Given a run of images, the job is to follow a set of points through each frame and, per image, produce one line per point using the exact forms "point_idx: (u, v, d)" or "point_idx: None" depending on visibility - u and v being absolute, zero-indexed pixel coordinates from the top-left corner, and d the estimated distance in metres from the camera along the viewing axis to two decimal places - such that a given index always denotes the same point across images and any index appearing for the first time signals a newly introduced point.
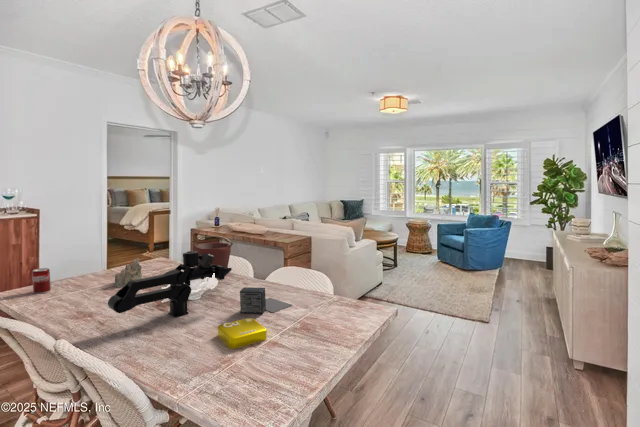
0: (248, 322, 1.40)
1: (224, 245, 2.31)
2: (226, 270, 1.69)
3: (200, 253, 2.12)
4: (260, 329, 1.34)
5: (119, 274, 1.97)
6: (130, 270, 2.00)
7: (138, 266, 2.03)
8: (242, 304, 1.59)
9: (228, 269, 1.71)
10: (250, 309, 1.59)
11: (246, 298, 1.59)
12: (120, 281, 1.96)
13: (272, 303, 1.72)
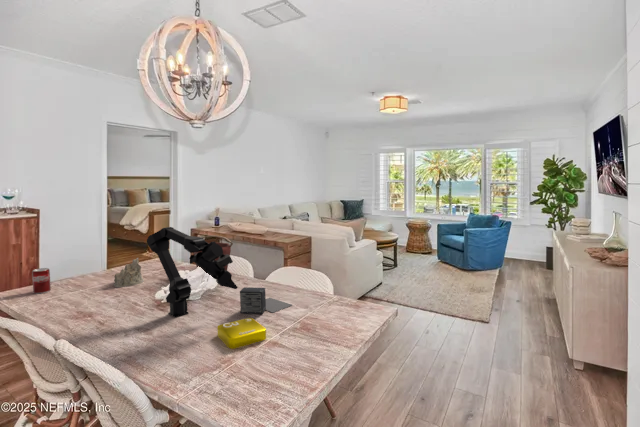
0: (248, 322, 1.40)
1: (224, 245, 2.31)
2: (231, 283, 1.49)
3: None
4: (260, 329, 1.34)
5: (119, 274, 1.97)
6: (130, 270, 2.00)
7: (138, 266, 2.03)
8: (242, 304, 1.59)
9: (233, 284, 1.49)
10: (250, 309, 1.59)
11: (246, 298, 1.59)
12: (120, 281, 1.96)
13: (272, 303, 1.72)
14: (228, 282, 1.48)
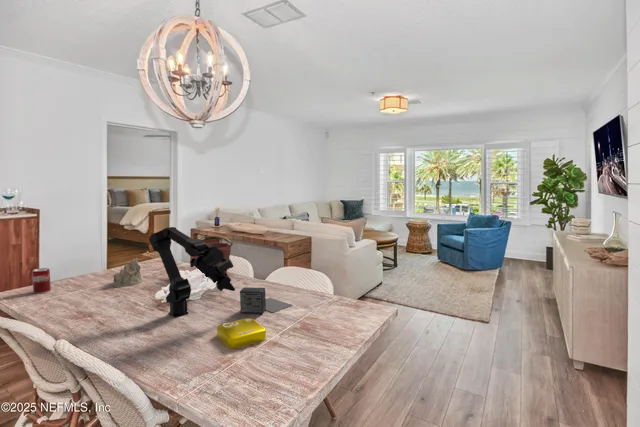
0: (247, 322, 1.40)
1: (224, 245, 2.31)
2: (229, 285, 1.52)
3: None
4: (259, 329, 1.34)
5: (118, 274, 1.97)
6: (129, 270, 2.00)
7: (137, 266, 2.03)
8: (242, 304, 1.59)
9: (231, 286, 1.52)
10: (250, 309, 1.59)
11: (246, 298, 1.59)
12: (119, 281, 1.96)
13: (272, 303, 1.72)
14: None
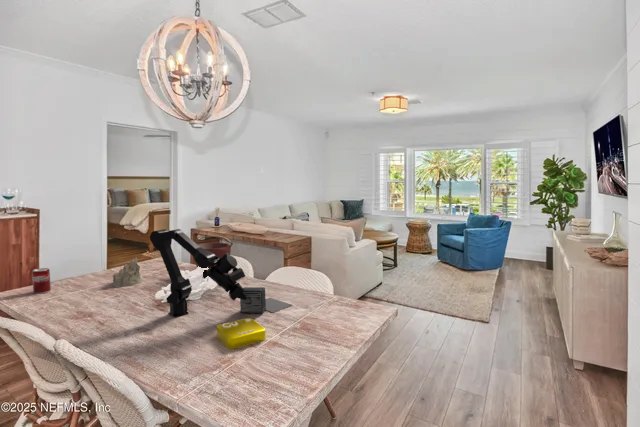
0: (247, 322, 1.40)
1: (224, 245, 2.31)
2: (240, 294, 1.56)
3: None
4: (259, 329, 1.34)
5: (117, 274, 1.97)
6: (128, 270, 2.00)
7: (136, 266, 2.03)
8: (242, 303, 1.59)
9: (243, 295, 1.56)
10: (250, 308, 1.59)
11: None
12: (118, 281, 1.96)
13: (272, 303, 1.72)
14: None
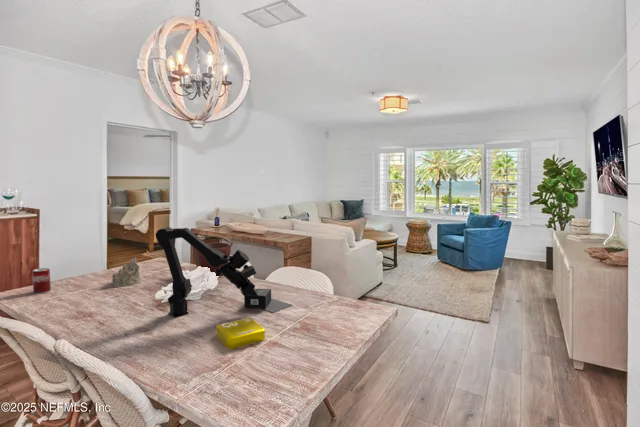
0: (247, 322, 1.40)
1: (224, 245, 2.31)
2: (251, 291, 1.61)
3: (200, 253, 2.12)
4: (258, 329, 1.34)
5: (117, 274, 1.97)
6: (128, 270, 2.00)
7: (136, 266, 2.03)
8: None
9: (254, 292, 1.61)
10: None
11: None
12: (118, 281, 1.96)
13: (272, 303, 1.72)
14: None
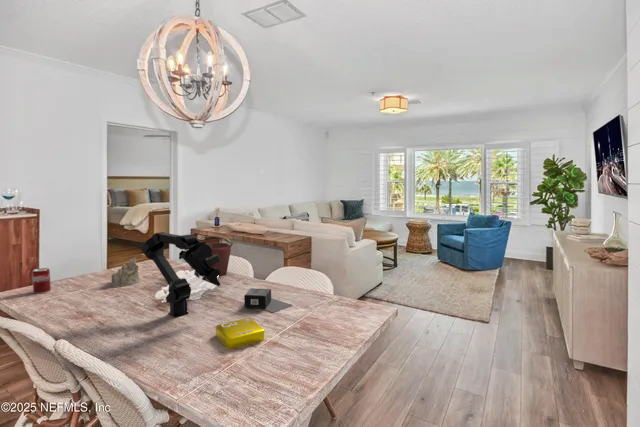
0: (246, 322, 1.40)
1: (224, 245, 2.31)
2: (215, 280, 1.55)
3: None
4: (258, 329, 1.33)
5: (116, 274, 1.97)
6: (127, 270, 2.00)
7: (135, 266, 2.03)
8: (249, 292, 1.69)
9: (217, 281, 1.56)
10: (255, 294, 1.66)
11: (254, 290, 1.72)
12: (117, 281, 1.96)
13: (272, 303, 1.72)
14: None
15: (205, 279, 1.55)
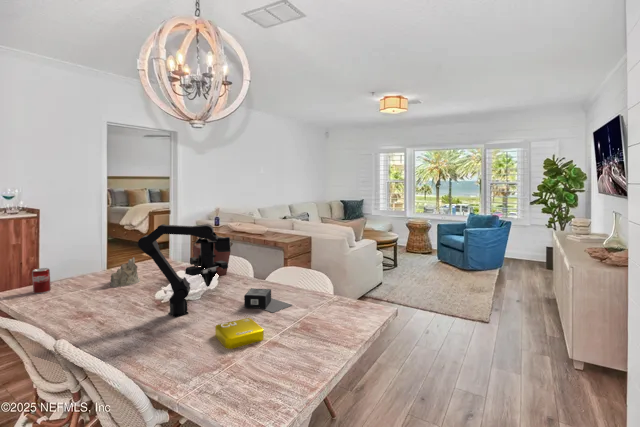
0: (246, 322, 1.40)
1: None
2: None
3: None
4: (257, 330, 1.33)
5: (115, 274, 1.97)
6: (126, 270, 2.01)
7: (134, 266, 2.04)
8: (249, 292, 1.69)
9: None
10: (255, 294, 1.66)
11: (254, 290, 1.72)
12: (116, 281, 1.96)
13: (272, 303, 1.72)
14: None
15: None
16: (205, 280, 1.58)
